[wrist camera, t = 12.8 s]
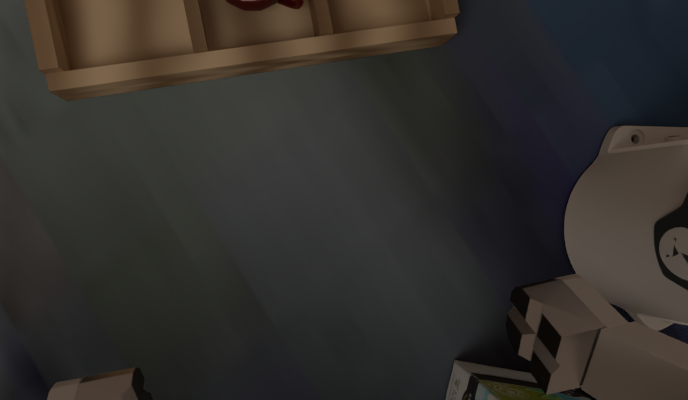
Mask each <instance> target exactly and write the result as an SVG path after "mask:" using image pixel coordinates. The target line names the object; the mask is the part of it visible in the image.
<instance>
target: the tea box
mask: <svg viewBox="0 0 688 400" xmlns="http://www.w3.org/2000/svg"><path fill="white" fill-rule="evenodd" d="M446 400H591V399H589V398H588V397H586V396H584V395H583V394H581V393H579V392H578V391H576V390H575V389H570V390H566V391H561V392H557V393H552V394H548V395H546V394H545V393H544V391H543V390H542V389H541V387H540V386H539V384H538V383H537V381H536V380H535V378H534V377H533V376H532V374H531V373H528V372H521V371H515V370H509V369H504V368H497V367H491V366H486V365H480V364H475V363H468V362H463V361H457V360H455V361H454V366H453V370H452V374H451V378H450V381H449V386H448V390H447V395H446Z"/></svg>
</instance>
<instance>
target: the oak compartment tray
mask: <svg viewBox="0 0 688 400" xmlns="http://www.w3.org/2000/svg"><path fill="white" fill-rule="evenodd" d="M24 1H25V6H26V10H27V15H28V20H29V25H30V29H31V34H32V39H33V43H34V48H35V53H36V58H37V62H38V67H39V70H40V71H42V72H43V73H45V74H46V78H47V83H48V88H49V92H51V93H53V94H55V95H57V96H59V97H60V98H62V99H64V100H66V101H71V100H78V99H85V98H91V97H98V96H105V95H112V94H118V93H125V92H132V91H139V90H146V89H152V88H159V87H166V86H173V85H179V84H186V83H193V82H200V81H206V80H213V79H220V78H227V77H233V76H240V75H247V74H254V73H260V72H267V71H274V70H281V69H288V68H294V67H301V66H308V65H315V64H321V63H328V62H335V61H342V60H348V59H355V58H362V57H369V56H375V55H382V54H389V53H396V52H403V51H409V50H416V49H423V48H430V47H436V46H442V45H443V44H445V43H446V42H447V41H448V40H449V39H450V38H452V37H453V36H454V35H455V34H456V33H457V29H456V23H455V17H456V16H457V15H458V14H459V13H460V12H459V6H458V1H457V0H303V5H302V7H301V8H300V9H292V8H289V7H286V6H283V5H281V4H278V3H276V4H274V5H272V6H270V7H268V8H266V9H264V10H261V11H244V10H242V9H239V8H237V7H235V6H233V5H231V4H229V3H228V2H226V0H24ZM293 1H294V0H293Z"/></svg>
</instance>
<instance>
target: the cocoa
mask: <svg viewBox="0 0 688 400" xmlns="http://www.w3.org/2000/svg"><path fill="white" fill-rule="evenodd" d="M226 2H228V3H229V4H231V5H233V6H235V7H237V8H239V9H242V10H244V11H261V10H264V9H266V8H268V7H270V6H272V5H274V4H276V3H278V4H281V5H283V6H286V7H289V8H292V9H300V8H301V7H302V5H303V0H294V1H293V0H226Z"/></svg>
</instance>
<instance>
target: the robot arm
mask: <svg viewBox="0 0 688 400" xmlns="http://www.w3.org/2000/svg"><path fill="white" fill-rule="evenodd" d="M631 137H633V142H632V141H631ZM564 237H565V245H566V249H567V253H568V256H569V259H570V262H571V264H572V266H573V268H574V270H575V272H576V274H572V275H567V276H563V277H558V278H555V279H548V280H544V281H539V282H535V283H530V284H526V285H521V286H517V287H515V288H514V289H513V291H512V293H511V298H510V300H511V302H512V303H513V304H514V307H513V308H512V310H511V311H510V312H509V313H508V314H507V322H506V327H507V333H508V337H509V339H510V342H511V344H512V346H513V347H514V349H515V351H516V352H517V354H518V355H520V356H522V357H524V358H525V359H527V360H529V361H530V364H529V371H530V373H531V374H532V376H533V377H534V378H535V380H536V381H537V383H538V384H539V386H540V387H541V389H542V390H543V391H544V393H545V394H546V395H548V394H552V393H557V392H561V391H566V390H570V389H575V388H579V387H582V388H581V389H582V390H583V391H585V392H586V393H588V394H589V395H591V396H592V397H594V398H595V399H597V400H688V344H686V343H684V342H681V341H679V340H677V339H674V338H672V337H670V336H667V335H665V334H663V333H660V332H658V331H659V330H662V329H664V328H666V327H668V326H670V325H671V324H673V323H678V324H683V325H688V127H657V126H615V127H613V128H611V129H610V130H609V131H608V133H607V134H606V136H605V138H604V141H603V143H602V146H601V149H600V152H599V155H598V157H597V158H596V160H595V161H594V162H593V163H592V164H591V166H590V167H589V168H588V169H587V170H586V171H585V172H584V173H583V175H582V176H581V177H580V179H579V180H578V182H577V183H576V185H575V187H574V189H573V191H572V193H571V195H570V198H569V201H568V204H567V208H566V213H565V220H564ZM608 302H609V303H611V304H614V305H616V306H618V307H620V308H622V309H624V310H625V311H627V313H628V314H629V315H630V316H631V317H632V318H633V319H634V320H635V321H636V322H635V321H634V322H629V323H628V322H627V321H626V320H625V319H624V318H623V317H622V316H621V315H620V314H619V313H618V312H617V311H616V310H615V309H614V308H613V307H612V306H611V305H610V304H609V303H608ZM144 379H145V378H144V376H143V374H142V372H141V370H140V368H138V367H135V368H130V369H124V370H119V371H113V372H108V373H103V374H97V375H92V376H87V377H83V378H78V379H73V380H67V381H62V382H57V383H55V385H54V386H53V387H52V389H51V390H50V392H49V395H48V398H47V400H153V398H152V396H151V393H150V392H148V391H146V390H144V389H143V387H144Z"/></svg>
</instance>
